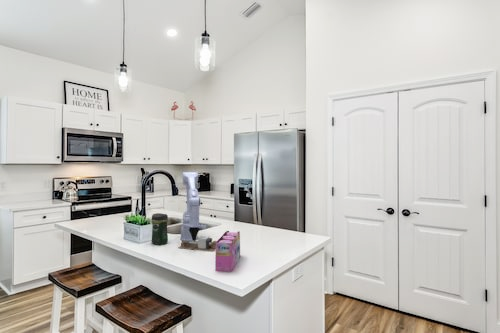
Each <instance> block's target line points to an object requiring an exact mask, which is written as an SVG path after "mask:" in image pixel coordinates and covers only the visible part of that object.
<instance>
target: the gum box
mask: <svg viewBox="0 0 500 333" xmlns="http://www.w3.org/2000/svg"><path fill="white" fill-rule="evenodd" d="M216 241H217V242H216V250H215V264H214V265H215V267H214V268H215V271H216V272H230V273H231V272H232V271H233V270H234V267H235V266H236V264H237V262H238V261H239V259H240V257H241V232H240V231H237V232H235V231H229V230H226V231H225V232H224V233H223V234H222V236H221V237H219V238H218V240H216Z"/></svg>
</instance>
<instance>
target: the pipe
mask: <svg viewBox="0 0 500 333" xmlns="http://www.w3.org/2000/svg"><path fill="white" fill-rule="evenodd" d="M181 242H182V243H185V244H190V245H198V240H195V241H190V240H181ZM212 242H213V241H212ZM212 242H209V246H212Z"/></svg>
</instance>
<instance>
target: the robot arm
mask: <svg viewBox="0 0 500 333" xmlns="http://www.w3.org/2000/svg"><path fill="white" fill-rule="evenodd" d="M198 181H199V172H198V171H191V172H189V171H186V172H185V171H183V172H182V185H183V186H185V188H186V210H185V212H183V214H182V225H181V228H180V241H182V240H188V241H197V240H198V238H199V236H198V234H199V231H200V229H203V230H206V229H207V224H203V223H202V224H201V223H200V207H201V198H200V195H199V190H198V188H197V187H196V185H198Z"/></svg>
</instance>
